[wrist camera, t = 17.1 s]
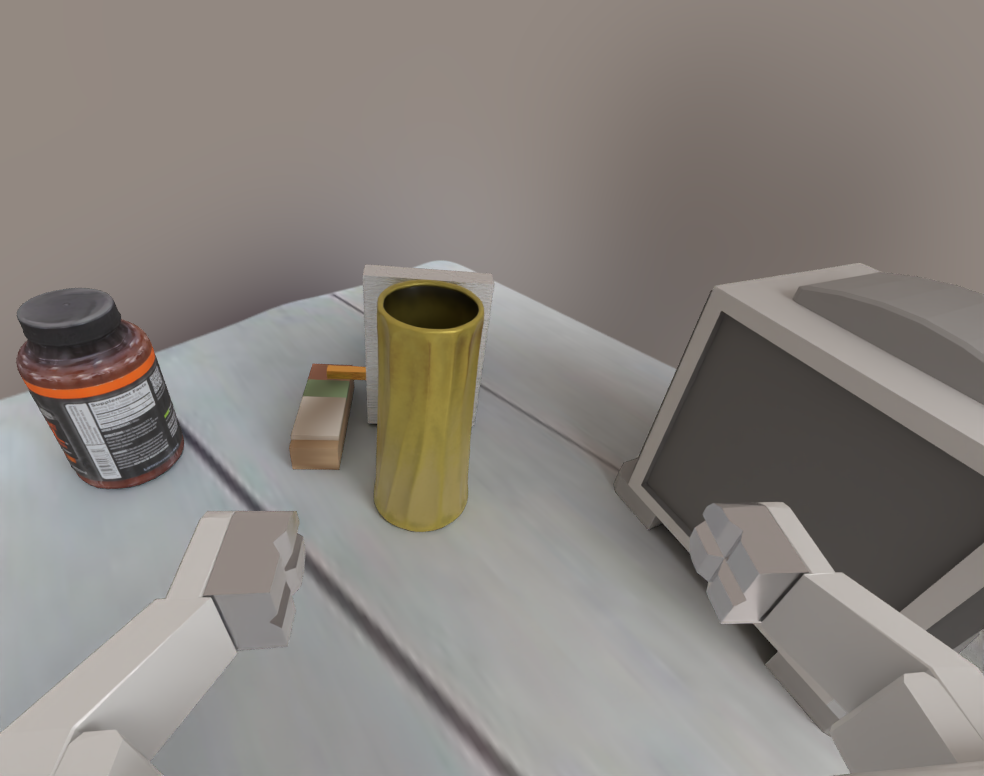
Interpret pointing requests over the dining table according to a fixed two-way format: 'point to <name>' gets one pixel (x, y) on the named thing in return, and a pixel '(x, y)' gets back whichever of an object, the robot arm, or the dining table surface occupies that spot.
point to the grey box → (836, 438)
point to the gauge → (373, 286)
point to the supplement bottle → (98, 388)
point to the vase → (425, 401)
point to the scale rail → (321, 421)
